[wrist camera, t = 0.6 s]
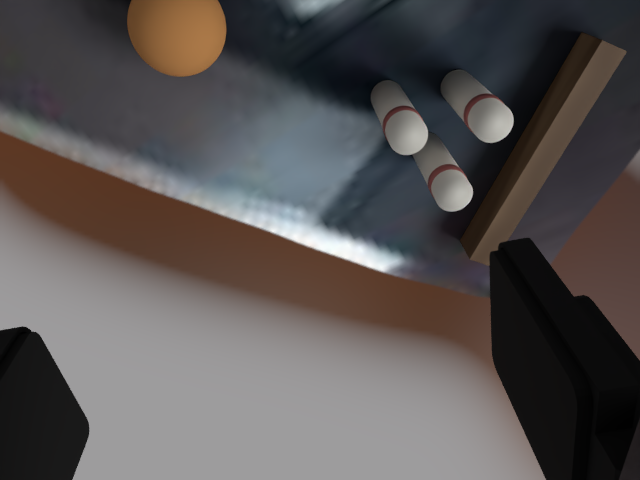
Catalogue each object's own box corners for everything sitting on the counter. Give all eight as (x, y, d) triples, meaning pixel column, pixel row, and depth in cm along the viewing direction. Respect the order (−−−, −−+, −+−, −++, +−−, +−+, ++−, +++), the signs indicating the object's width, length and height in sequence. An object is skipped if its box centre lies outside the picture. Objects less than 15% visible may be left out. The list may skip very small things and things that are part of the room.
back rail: (459, 240, 47) (469, 259, 45) (581, 32, 39) (602, 40, 37) (480, 247, 48) (491, 266, 45) (604, 42, 40) (626, 51, 37)
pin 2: (433, 96, 41) (465, 135, 34) (449, 63, 40) (485, 97, 33) (463, 107, 42) (500, 149, 34) (480, 76, 41) (522, 111, 33)
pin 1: (404, 156, 43) (428, 205, 36) (418, 127, 42) (446, 171, 35) (433, 166, 44) (462, 216, 37) (448, 138, 43) (480, 184, 35)
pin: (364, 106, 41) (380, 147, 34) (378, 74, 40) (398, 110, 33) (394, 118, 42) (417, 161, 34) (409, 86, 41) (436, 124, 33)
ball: (131, 46, 38) (106, 66, 33) (150, -46, 36) (127, -39, 30) (216, 77, 40) (205, 101, 35) (241, -9, 37) (233, 3, 32)
